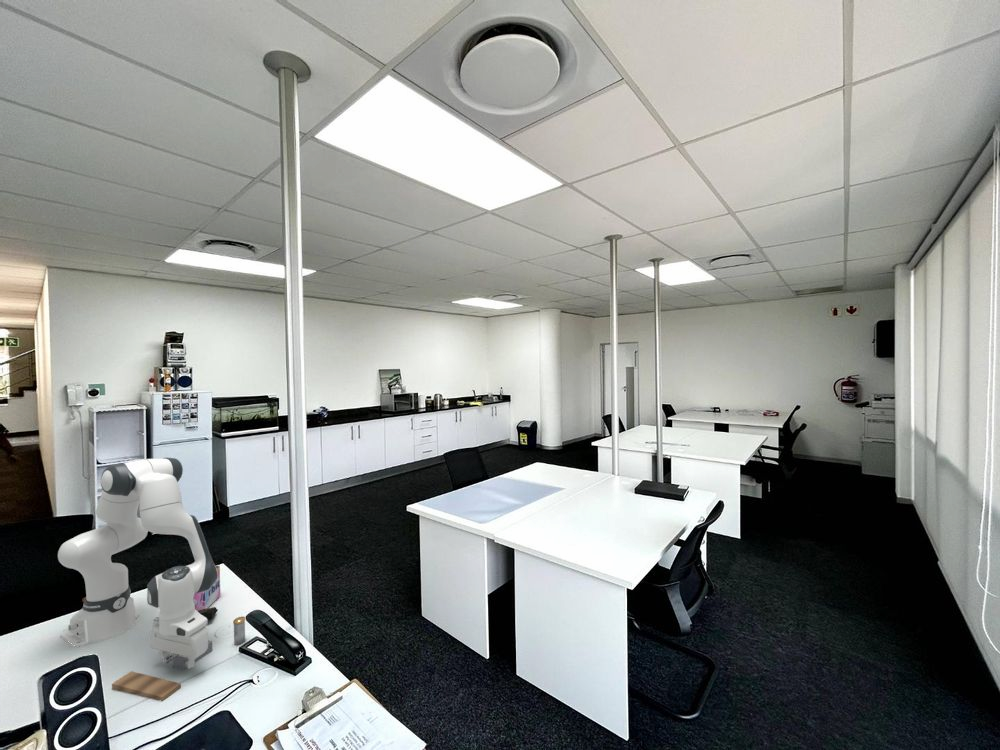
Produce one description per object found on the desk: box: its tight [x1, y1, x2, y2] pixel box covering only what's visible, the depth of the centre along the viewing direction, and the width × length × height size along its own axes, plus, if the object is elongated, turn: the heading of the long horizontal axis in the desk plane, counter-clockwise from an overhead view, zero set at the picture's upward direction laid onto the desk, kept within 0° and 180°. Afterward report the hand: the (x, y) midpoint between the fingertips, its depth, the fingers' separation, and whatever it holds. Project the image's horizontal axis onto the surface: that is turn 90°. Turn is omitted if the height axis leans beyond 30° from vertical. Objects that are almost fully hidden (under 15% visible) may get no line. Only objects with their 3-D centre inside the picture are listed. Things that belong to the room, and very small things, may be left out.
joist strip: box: [111, 670, 182, 702], centre depth 117 cm, size 20×5×2 cm, turn 75°
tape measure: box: [198, 606, 219, 621], centre depth 150 cm, size 7×7×4 cm
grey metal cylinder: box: [232, 616, 246, 646], centre depth 137 cm, size 3×3×9 cm
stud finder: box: [172, 640, 213, 671], centre depth 129 cm, size 5×9×4 cm, turn 165°
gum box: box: [193, 565, 222, 611], centre depth 156 cm, size 22×7×13 cm, turn 8°
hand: (178, 664), depth 125 cm, fingers open, 8 cm apart
